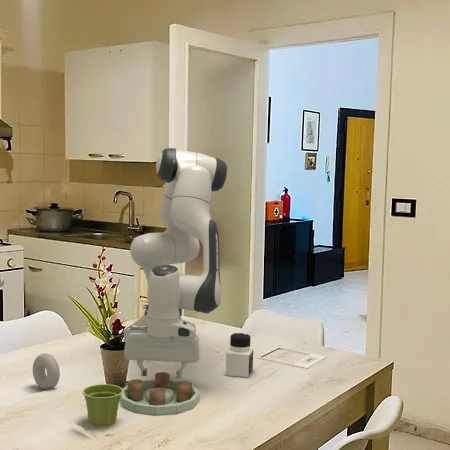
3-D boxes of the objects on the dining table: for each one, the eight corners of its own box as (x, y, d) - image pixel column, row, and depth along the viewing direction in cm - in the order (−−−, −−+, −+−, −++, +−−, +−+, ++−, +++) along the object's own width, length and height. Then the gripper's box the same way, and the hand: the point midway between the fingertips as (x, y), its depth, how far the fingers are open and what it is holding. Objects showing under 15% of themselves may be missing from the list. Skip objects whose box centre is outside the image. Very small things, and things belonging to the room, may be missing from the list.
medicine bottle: (248, 377, 192) (250, 338, 190) (225, 375, 193) (226, 336, 192) (252, 370, 199) (254, 332, 197) (229, 368, 200) (231, 330, 199)
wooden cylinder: (153, 393, 173) (154, 376, 173) (155, 387, 177) (155, 372, 177) (168, 393, 173) (169, 377, 173) (170, 388, 177) (170, 372, 177)
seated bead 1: (124, 398, 169) (124, 381, 169) (136, 394, 172) (137, 378, 171) (133, 402, 166) (134, 385, 166) (146, 399, 169) (146, 382, 169)
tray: (105, 402, 169) (105, 390, 169) (164, 385, 183) (165, 374, 183) (153, 426, 155) (153, 413, 155) (213, 405, 169) (214, 393, 169)
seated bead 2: (145, 408, 163) (145, 391, 162) (158, 404, 166) (158, 387, 165) (155, 413, 160) (156, 395, 159) (168, 409, 163) (168, 391, 162)
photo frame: (307, 367, 201) (257, 356, 211) (307, 370, 201) (256, 359, 211) (326, 356, 213) (278, 346, 223) (326, 359, 214) (277, 349, 223)
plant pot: (85, 418, 159) (85, 383, 158) (123, 418, 159) (124, 383, 159) (79, 434, 149) (79, 397, 149) (120, 434, 150) (121, 397, 149)
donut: (62, 392, 175) (62, 356, 174) (51, 395, 173) (51, 359, 172) (40, 383, 182) (40, 348, 180) (29, 386, 179) (29, 351, 178)
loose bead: (176, 397, 171) (177, 380, 171) (192, 397, 171) (192, 381, 171) (175, 402, 167) (176, 385, 167) (191, 403, 167) (191, 386, 167)
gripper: (122, 327, 171) (121, 378, 173) (199, 331, 171) (197, 382, 172) (126, 321, 177) (125, 370, 179) (201, 325, 177) (199, 374, 178)
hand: (161, 376), depth 176 cm, fingers open, 8 cm apart
